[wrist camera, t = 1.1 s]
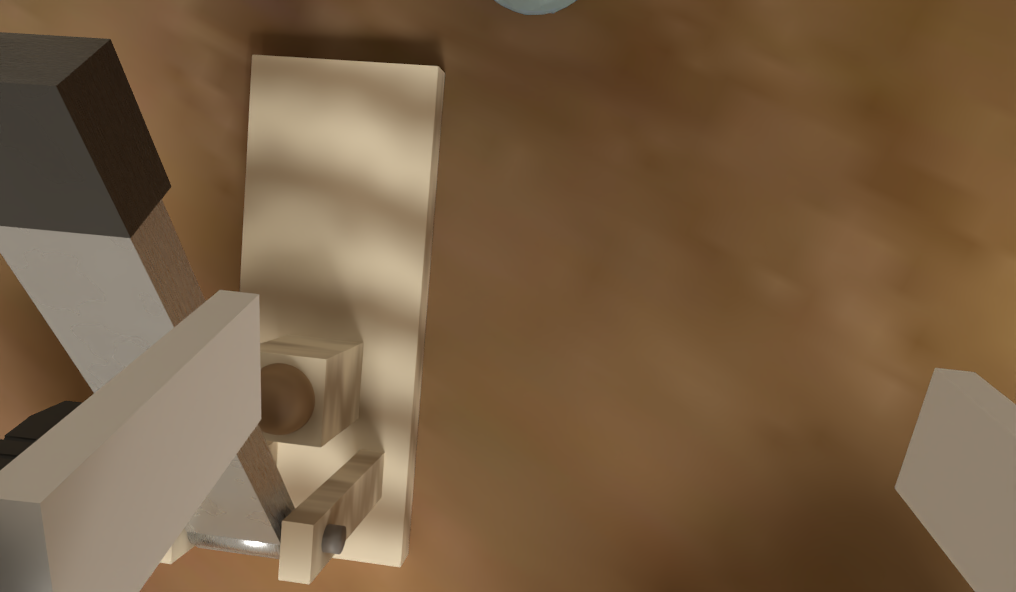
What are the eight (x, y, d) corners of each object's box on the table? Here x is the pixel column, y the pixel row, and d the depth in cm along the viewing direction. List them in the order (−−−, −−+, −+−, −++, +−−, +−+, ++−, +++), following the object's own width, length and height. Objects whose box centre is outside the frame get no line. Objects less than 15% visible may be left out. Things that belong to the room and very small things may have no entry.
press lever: (310, 522, 39) (292, 568, 38) (211, 508, 40) (190, 553, 38) (110, 39, 20) (56, 86, 18) (-73, 27, 21) (-143, 72, 19)
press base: (408, 554, 50) (335, 677, 36) (240, 530, 51) (108, 640, 37) (445, 73, 47) (381, 4, 33) (266, 62, 48) (132, -9, 34)
